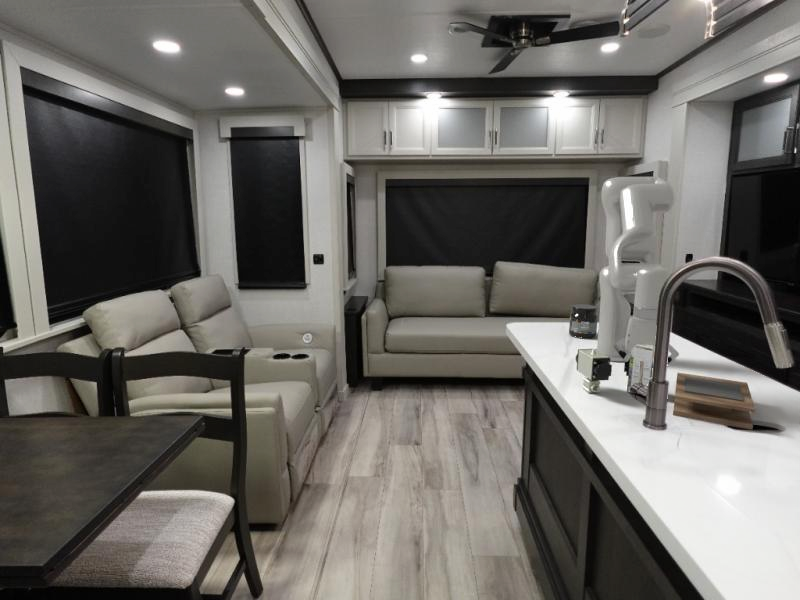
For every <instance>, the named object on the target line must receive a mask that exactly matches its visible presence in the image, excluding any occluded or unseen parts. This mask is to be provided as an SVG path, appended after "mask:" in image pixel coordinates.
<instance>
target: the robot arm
mask: <svg viewBox="0 0 800 600" xmlns="http://www.w3.org/2000/svg"><path fill="white" fill-rule="evenodd" d="M600 196H601V203H602V207H603V210H604V214H605V218H606V219H605V220H606V223H605V224H606V227H605V255H606V257H607V259H608V265H607V266H603V268H602V269H601V270H600V272H599V278H598V280H599V288H600V290H599V291H600V304H599V305H600V306H599V316H598V329H597V331H598V332H597V346H596V348H594V349H595V350H596V351H598V352H600V353H604V354H606V356H607V357H609V358H610V362H624V367H623V372H624V373H626V374H625V375H626V377H628V375H629V366H630V356H631V350H632V349H633V348H634V346H636V345H638V344H645V345H651V346H654V347H655V336H656V316H657V305H658V299H659V294H660V291H661V288H662V286H663V284H664V282H665V280H666V279H667V278H668V276H669V277H670V273H669V271H668V269H666V268H664V267H663V266H662V265H661V264H659V258H660V257H659V255H660V251H659V250H660V246H659V239H658V238H657V236H656V235H655V232H656V224H655V217H654V213H668V212H669V211H671V210H672V208H673V207H674V205H675V204H674V203H675V192H674V190H673V188H672V186H671V184H670V183H669V182H667V181H666V180H664V179H663V178H662V177H659V176H617V177H616V176H615V177H611V178H608V179H607V180H605V181H604V182H603V184H602V187H601V195H600ZM631 262H632V263H631ZM634 262H635V263H634ZM637 262H638V263H637ZM629 294H630V295H631V294H632V295H634V300H633V301H634V303H633V304H634V305H633V313H632V315H631V311H632V310H631V304H630V302H629V301H628V300H627V299H626V297H625V296H624V295H629ZM668 352H669V353H670V354H669V355H668V356H667V357H668V363H667V365H668V364H669V363H671V362H672V361H674V360H675V359H677V358H678V357H679V356H680V353H679V351H678V350H677V349H675V347H674V346H672V345H671V343H669V351H668Z"/></svg>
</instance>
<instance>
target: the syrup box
mask: <svg viewBox="0 0 800 600" xmlns="http://www.w3.org/2000/svg"><path fill="white" fill-rule="evenodd" d="M653 358H654V346H651V345H645V344H638V345H636V346H634V348H633V349H632V350H631V356H630V366H629V375H628V376H627V383H626V384H627V385H626V393H628V392H629V390H630V387H631V386H632V385H633V384H635V383H638V382H639V365H640V361H644V373H643V384H644V385H645V386H647V384H648V380H649V378H651V377H652V368H653Z"/></svg>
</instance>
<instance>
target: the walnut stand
mask: <svg viewBox="0 0 800 600" xmlns="http://www.w3.org/2000/svg"><path fill="white" fill-rule="evenodd" d="M675 382H676V385H675V393H674V401H673V412H672V415H673V416H677V417H682V418H688V419H693V420H698V421H703V422H710V423H714V424H719V425H725V426H730V427H736V428H740V429H744V430H745V429H746V430H751V431H752V430H754V429H753V427H754V423H753V419H752V416H751V413H756V408H755V405H754V400H753V397H752V393H751V391H750V388H749V384H748V382H746V381H738V380H731V379H725V378H717V377H710V376H703V375H697V374H689V373H684V372H679V371H678V372H677V374H676V381H675Z"/></svg>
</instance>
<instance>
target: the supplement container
mask: <svg viewBox="0 0 800 600" xmlns="http://www.w3.org/2000/svg"><path fill="white" fill-rule="evenodd" d="M570 310H571V312H570V314H569V327H568V334H569V335H570V336H571V335H572V336H571V337H573V336H576V337H582V338H581V339H583V338H589V339H593V338H592V337H594V338H596V337H597V336H598V332H597V331H598V320H599V315H598V313H597V312H598V307H597V306H596V305H592V304H585V303H584V304H582V303H581V304H580V303H579V304H572V306H571V309H570ZM576 337H575V338H576Z"/></svg>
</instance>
